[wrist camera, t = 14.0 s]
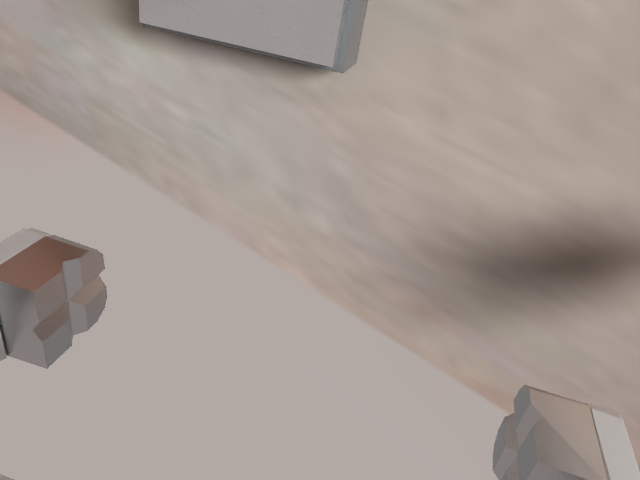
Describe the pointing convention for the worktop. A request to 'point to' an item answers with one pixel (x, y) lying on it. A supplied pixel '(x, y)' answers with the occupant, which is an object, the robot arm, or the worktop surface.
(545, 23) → the worktop surface
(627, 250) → the worktop surface
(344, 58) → the scale base
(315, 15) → the scale pan
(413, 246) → the worktop surface
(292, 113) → the worktop surface
